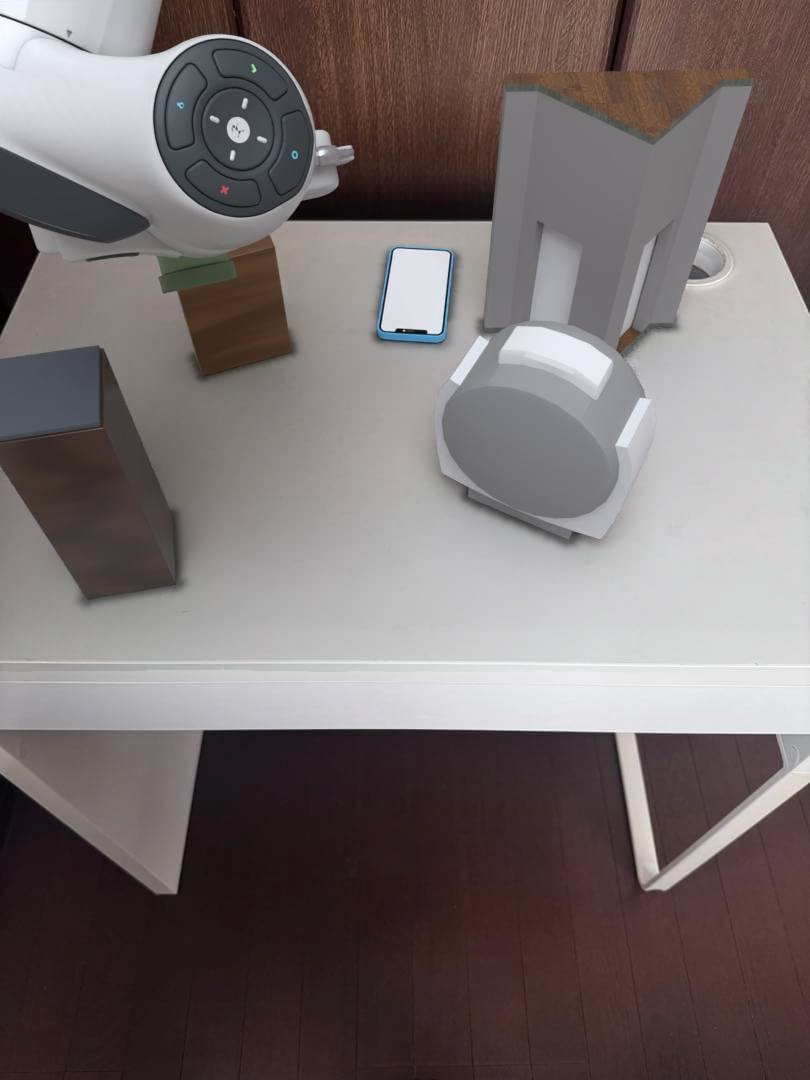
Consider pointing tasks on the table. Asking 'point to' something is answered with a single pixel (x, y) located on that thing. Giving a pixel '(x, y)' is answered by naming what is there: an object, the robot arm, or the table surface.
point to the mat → (50, 392)
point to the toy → (194, 271)
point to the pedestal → (97, 499)
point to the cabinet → (606, 194)
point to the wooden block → (239, 312)
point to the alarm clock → (545, 427)
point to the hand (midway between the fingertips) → (175, 202)
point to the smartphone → (416, 294)
